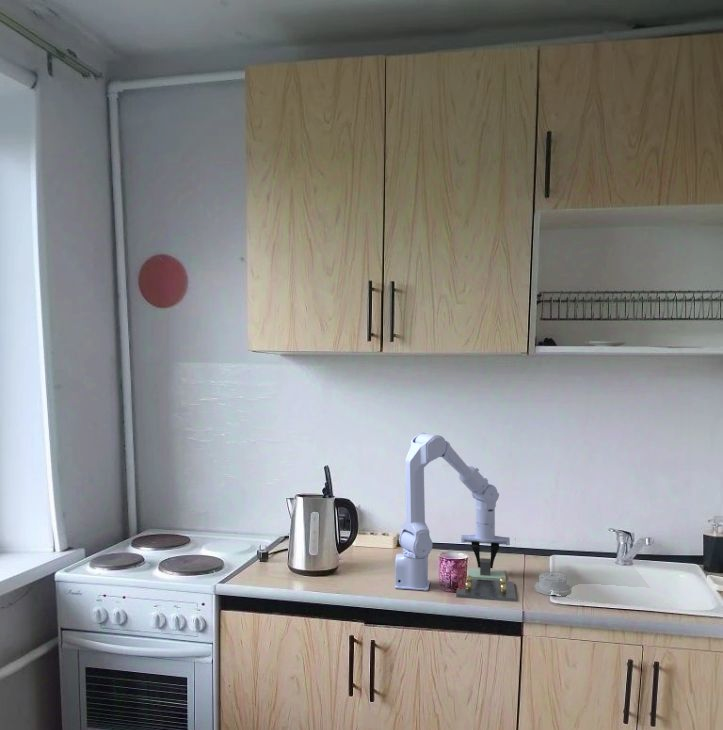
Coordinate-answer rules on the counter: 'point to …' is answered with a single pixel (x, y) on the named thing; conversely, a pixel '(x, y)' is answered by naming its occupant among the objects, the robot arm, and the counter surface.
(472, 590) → the plate
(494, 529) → the robot arm
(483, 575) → the circuit board
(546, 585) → the mechanical component
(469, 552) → the counter surface
